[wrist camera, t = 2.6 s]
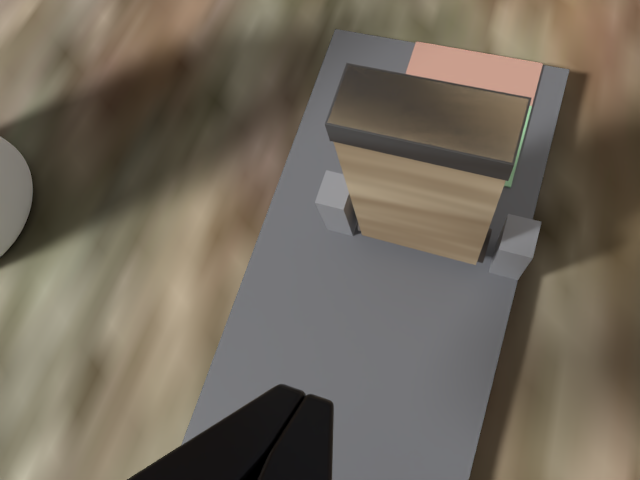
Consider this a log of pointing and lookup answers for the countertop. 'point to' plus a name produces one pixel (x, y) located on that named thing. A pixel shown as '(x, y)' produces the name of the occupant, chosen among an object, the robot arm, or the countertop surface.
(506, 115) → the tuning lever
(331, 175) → the base
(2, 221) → the bath foam
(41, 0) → the countertop surface
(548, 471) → the countertop surface
